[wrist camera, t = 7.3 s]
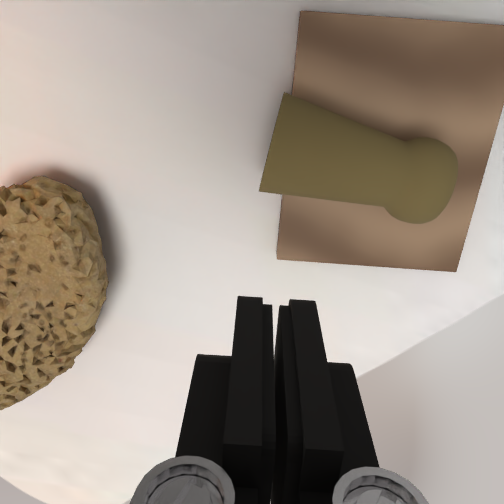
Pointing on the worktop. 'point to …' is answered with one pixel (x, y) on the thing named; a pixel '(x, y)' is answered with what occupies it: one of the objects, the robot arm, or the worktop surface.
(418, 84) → the walnut board
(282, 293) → the worktop surface
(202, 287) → the worktop surface
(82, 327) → the sponge
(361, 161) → the cork
